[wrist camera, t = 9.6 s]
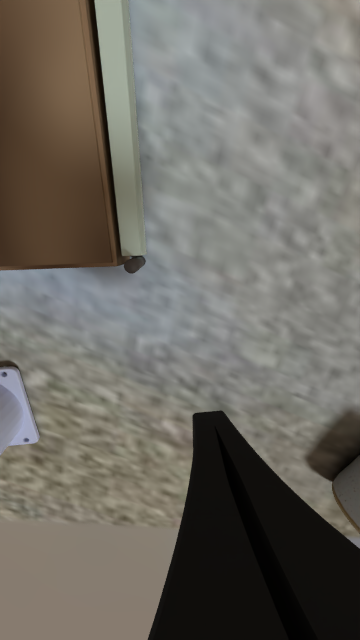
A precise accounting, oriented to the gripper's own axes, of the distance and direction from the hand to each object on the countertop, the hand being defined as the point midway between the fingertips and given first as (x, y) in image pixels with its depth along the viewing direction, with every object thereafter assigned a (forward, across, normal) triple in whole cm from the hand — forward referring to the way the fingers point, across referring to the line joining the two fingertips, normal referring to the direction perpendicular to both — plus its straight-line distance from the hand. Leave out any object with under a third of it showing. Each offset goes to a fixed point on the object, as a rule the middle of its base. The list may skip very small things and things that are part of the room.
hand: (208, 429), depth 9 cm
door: (+9, +3, -15) cm, 17 cm away
